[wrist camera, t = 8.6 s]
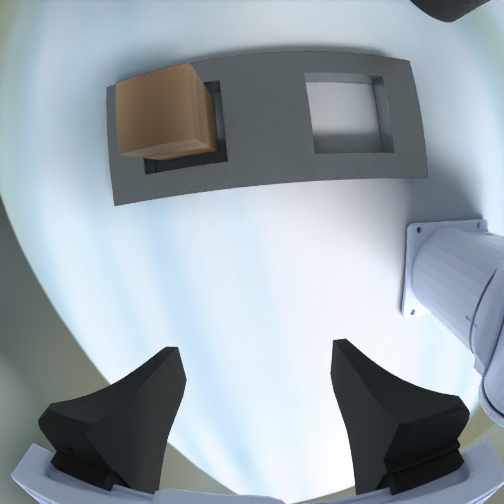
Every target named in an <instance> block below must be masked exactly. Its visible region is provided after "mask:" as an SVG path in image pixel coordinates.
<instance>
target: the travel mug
mask: <svg viewBox="0 0 504 504" xmlns="http://www.w3.org/2000/svg"><path fill="white" fill-rule="evenodd" d="M411 1H412V2H413V3H414V4H415V5H416V6H417V7H418V8H420V9H421V10H422V11H424V12H425V13H427V14H428V15H430V16H432V17H433V18H435V19H438V20H440V21H444V22H453V21H455V20H457V19H459V18H460V17H462V16H464V15H465V14H467V13H469V12H470V11H472V10H474V9H476V8H477V7H479V6H481V5H483V4H484V3H486V2H488V1H490V0H411Z"/></svg>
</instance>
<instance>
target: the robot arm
mask: <svg viewBox="0 0 504 504" xmlns="http://www.w3.org/2000/svg"><path fill="white" fill-rule="evenodd" d="M477 223H478V226H477ZM418 227H419V228H420V230H419V232H417V228H418ZM412 310H413V312H412V313H410V312H411V311H412ZM429 313H432V314H433V315H434V316H435V317H436V318H437V319H438V320H439V321H440V322H441V323H442V324H444V325H445V326H446V327H447V328H448V329H449V330H450V331H451V332H452V333H453V334H454V335H455V336H456V337H457V338H458V339H459V340H460V341H461V342H462V343H463V344H464V345H465V346H466V347H467V348H468V349H469V350H470V351H471V352H472V353H473V354H474V356H475V363H474V368H475V369H476V370H477V372H478V373H479V374H480V375H481V376H482V379H481V381H480V385H479V392H478V393H479V400H480V403H481V406H482V408H483V410H484V411H485V412H486V414H487V415H488V416H489V417H490V418H491V419H492V420H493V421H494V422H496V423H497V424H499V425H501V426H503V427H504V237H503V236H500V235H497V234H494V233H491V232H488V222H487V220H485V219H474V220H457V221H441V222H425V223H412V224H410V225H409V226H408V227H407V249H406V268H405V282H404V293H403V302H402V311H401V315H402V316H403V317H404V318H411V317H416V316H420V315H425V314H429ZM330 374H331V380H332V385H333V390H334V393H335V396H336V399H337V402H338V405H339V408H340V411H341V414H342V417H343V420H344V423H345V426H346V430H347V433H348V438H349V444H350V449H351V455H352V462H353V469H354V477H355V487H356V496H351V497H346V498H341V499H335V500H329V501H322V502H315V503H306V504H482V503H483V502H484V501H485V500H486V499H487V498H489V496H491V495H492V494H493V493H494V492H495V491H496V490H497V489H498V488H499V487H501V486H502V485H503V484H504V466H503V464H502V463H501V461H500V459H499V458H498V456H497V454H496V453H495V451H494V449H493V448H492V446H491V444H490V443H489V442H488V440H487V439H484V440H483V441H481V442H479V443H477V444H475V445H473V446H471V447H470V448H468V449H466V450H465V451H464V452H462V453H461V454H460V452H459V450H458V448H459V447H460V443H459V441H458V440H457V439H458V437H459V436H460V434H461V432H462V431H463V429H464V428H465V426H466V424H467V422H468V420H469V415H470V412H469V410H468V408H467V407H466V406H465V404H464V403H463V401H462V400H461V399H460V397H459V396H455V395H449V394H443V393H438V392H435V391H431V390H427V389H424V388H421V387H419V386H416V385H414V384H411V383H409V382H407V381H404V380H402V379H400V378H399V377H397V376H395V375H393V374H391V373H390V372H388V371H386V370H385V369H383V368H382V367H380V366H379V365H377V364H376V363H375V362H373V361H372V360H371V359H369V358H368V357H367V356H366V355H364V354H363V353H362V352H361V351H360V350H359V349H357V348H356V347H355V346H354V345H353V344H352V343H350V342H349V341H348V340H347V339H339V340H333V350H332V362H331V373H330ZM186 380H187V379H186V375H185V372H184V368H183V364H182V361H181V357H180V353H179V349H178V347H165V348H164V349H162V350H161V351H159V352H158V353H157V354H156V355H154V356H153V357H152V358H150V359H149V360H148V361H147V362H145V363H144V364H143V365H141V366H140V367H139V368H137V369H136V370H134V371H133V372H131V373H130V374H128V375H127V376H125V377H124V378H122V379H121V380H119V381H117V382H115V383H114V384H112V385H110V386H108V387H106V388H104V389H101V390H99V391H97V392H94V393H92V394H89V395H86V396H83V397H80V398H76V399H73V400H68V401H62V402H57V403H51V404H50V405H49V407H48V408H47V409H46V410H45V412H44V413H43V414H42V416H41V417H40V418H39V420H38V424H39V426H40V429H41V430H42V432H43V434H44V435H45V436H46V438H47V439H48V440H49V442H50V443H51V444H52V445H53V447H54V448H55V449H56V450H57V452H56V454H55V455H53V454H52V453H51V452H49V451H48V450H46V449H43V448H41V447H39V446H38V445H36V444H32V446H31V447H30V448H29V450H28V451H27V453H26V454H25V456H24V457H23V458H22V460H21V461H20V463H19V464H18V466H17V467H16V468H15V470H14V472H13V473H12V474H11V477H12V478H13V479H14V480H15V481H16V482H17V483H18V484H19V485H20V486H21V487H22V488H23V489H24V490H26V491H27V492H28V493H29V494H30V495H31V496H32V497H34V498H35V499H36V500H37V501H39V502H40V503H41V504H285V503H284V502H283V501H282V500H280V499H276V498H272V497H269V496H256V495H230V494H215V493H204V492H196V491H188V490H181V489H169V488H165V489H161V490H159V483H160V476H161V469H162V463H163V457H164V453H165V448H166V444H167V439H168V436H169V433H170V430H171V427H172V424H173V422H174V419H175V416H176V414H177V411H178V409H179V406H180V403H181V401H182V398H183V394H184V390H185V385H186Z"/></svg>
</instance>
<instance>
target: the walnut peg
mask: <svg viewBox="0 0 504 504" xmlns="http://www.w3.org/2000/svg"><path fill="white" fill-rule="evenodd" d="M116 128H117V146H118V155H126V156H134V157H141V158H148V159H155V160H162V161H168V160H173V159H179V158H185V157H191V156H197V155H204V154H211V153H218V152H219V145H218V135H217V125H216V114H215V103H214V98H213V97H212V95H211V94H210V92H209V91H208V89H207V88H206V86H205V85H204V83H203V82H202V80H201V79H200V77H199V76H198V74H197V73H196V71H195V70H194V69H193V67H192V66H191V64H190V63H184V64H180V65H175V66H171V67H167V68H163V69H159V70H155V71H152V72H148V73H145V74H141V75H138V76H135V77H132V78H129V79H126V80H123V81H120V82H117V83H116Z"/></svg>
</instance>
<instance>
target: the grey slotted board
mask: <svg viewBox="0 0 504 504" xmlns="http://www.w3.org/2000/svg"><path fill="white" fill-rule="evenodd" d="M190 64H191V66H192V67H193V69H194V70H195V71H196V73H197V74H198V76H199V77H200V79H201V80H202V82H203V83H204V85H205V86H206V88H207V89H208V91H214V90H221V99H222V109H223V119H224V129H225V138H226V148H227V157H228V162H221V163H213V164H206V165H199V166H193V167H187V168H181V169H175V170H169V171H164V172H158V173H156V171H155V161H154V159H148V158H141V157H134V156H126V155H118V146H117V128H116V84H115V85H113V86H110V87H107V133H108V149H109V162H110V172H111V182H112V190H113V198H114V205H115V206H119V205H124V204H129V203H135V202H140V201H146V200H152V199H158V198H164V197H171V196H177V195H184V194H191V193H198V192H206V191H214V190H222V189H230V188H239V187H248V186H258V185H269V184H280V183H292V182H306V181H322V180H342V179H370V178H428V171H427V158H426V148H425V139H424V131H423V124H422V118H421V112H420V106H419V101H418V96H417V91H416V86H415V82H414V77H413V73H412V69H411V65H410V61H408V60H402V59H396V58H390V57H383V56H376V55H367V54H357V53H344V52H321V51H295V52H272V53H259V54H248V55H239V56H231V57H224V58H218V59H212V60H206V61H200V62H195V63H190ZM305 82H342V83H362V84H373V89H374V94H375V100H376V106H377V112H378V118H379V125H380V133H381V141H382V150H383V153H326V154H315V149H314V141H313V132H312V124H311V117H310V109H309V102H308V96H307V89H306V83H305Z"/></svg>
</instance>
